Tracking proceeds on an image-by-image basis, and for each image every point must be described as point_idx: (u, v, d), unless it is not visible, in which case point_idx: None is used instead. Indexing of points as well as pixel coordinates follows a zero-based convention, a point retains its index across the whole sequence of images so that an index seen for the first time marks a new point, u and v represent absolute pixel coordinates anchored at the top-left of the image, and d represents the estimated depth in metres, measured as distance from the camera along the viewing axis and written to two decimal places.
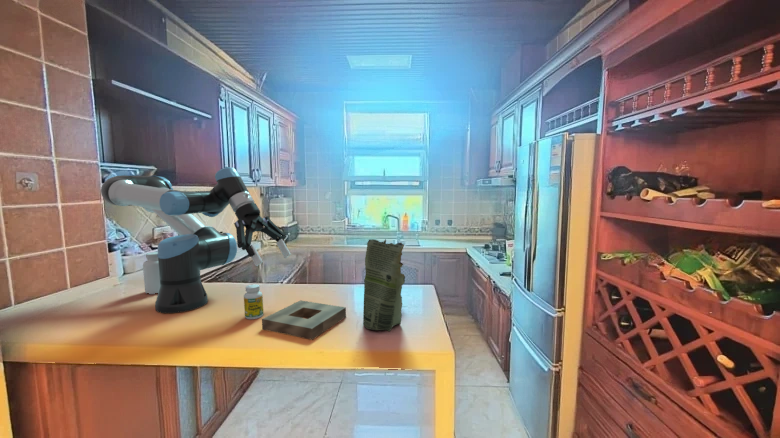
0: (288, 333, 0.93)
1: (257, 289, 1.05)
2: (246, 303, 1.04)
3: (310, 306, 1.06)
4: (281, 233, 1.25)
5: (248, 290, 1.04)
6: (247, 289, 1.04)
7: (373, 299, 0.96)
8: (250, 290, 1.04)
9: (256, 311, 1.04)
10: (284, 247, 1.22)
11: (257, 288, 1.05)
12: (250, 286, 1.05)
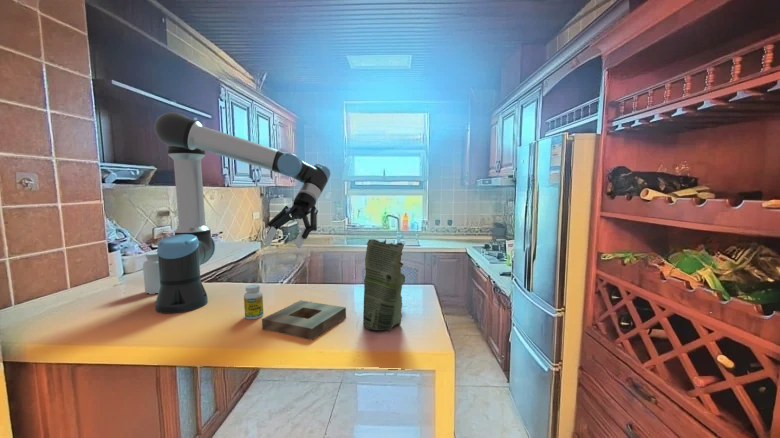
0: (288, 333, 0.93)
1: (257, 289, 1.05)
2: (246, 303, 1.04)
3: (310, 306, 1.06)
4: None
5: (248, 290, 1.04)
6: (247, 289, 1.04)
7: (373, 299, 0.96)
8: (250, 290, 1.04)
9: (256, 311, 1.04)
10: (272, 237, 1.22)
11: (257, 288, 1.05)
12: (250, 286, 1.05)
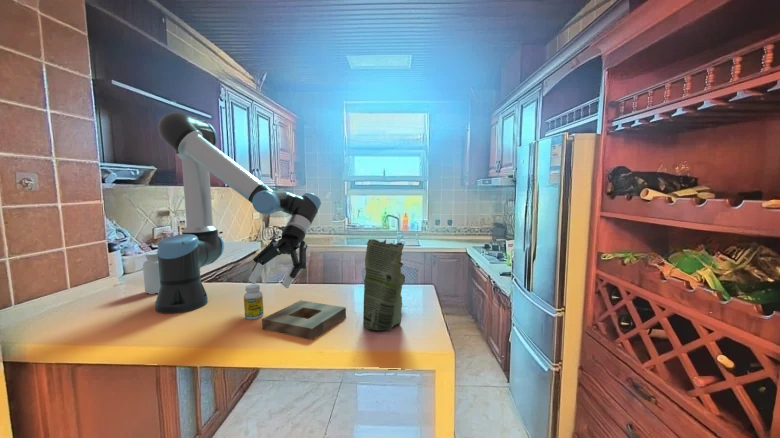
0: (288, 333, 0.93)
1: (257, 289, 1.05)
2: (246, 303, 1.04)
3: (310, 306, 1.06)
4: (262, 260, 1.19)
5: (248, 290, 1.04)
6: (247, 289, 1.04)
7: (373, 299, 0.96)
8: (250, 290, 1.04)
9: (256, 311, 1.04)
10: (258, 274, 1.15)
11: (257, 288, 1.05)
12: (250, 286, 1.05)
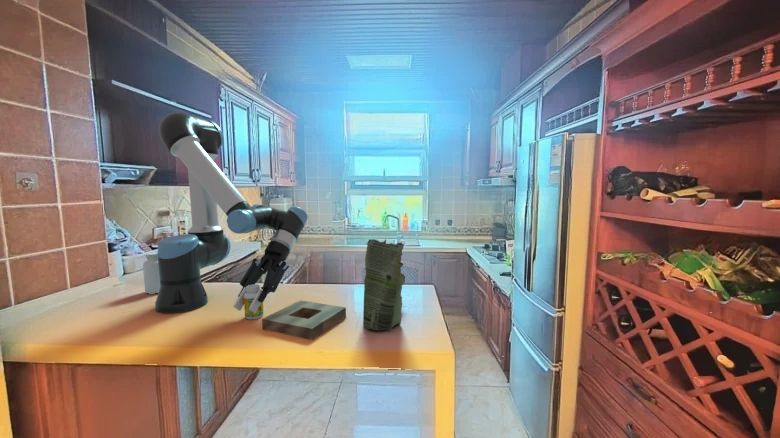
0: (288, 333, 0.93)
1: (257, 289, 1.05)
2: (246, 303, 1.04)
3: (310, 306, 1.06)
4: None
5: (248, 290, 1.04)
6: (247, 289, 1.04)
7: (373, 299, 0.96)
8: (250, 290, 1.04)
9: None
10: None
11: (257, 288, 1.05)
12: (250, 286, 1.05)
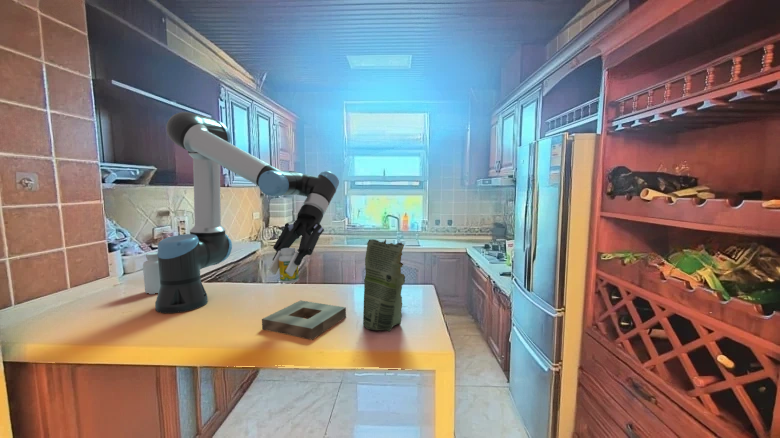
0: (288, 333, 0.93)
1: (293, 252, 1.00)
2: (282, 266, 0.99)
3: (310, 306, 1.06)
4: None
5: (284, 252, 0.99)
6: (283, 251, 0.99)
7: (373, 299, 0.96)
8: (286, 252, 0.99)
9: None
10: None
11: (293, 251, 1.00)
12: (285, 249, 1.01)
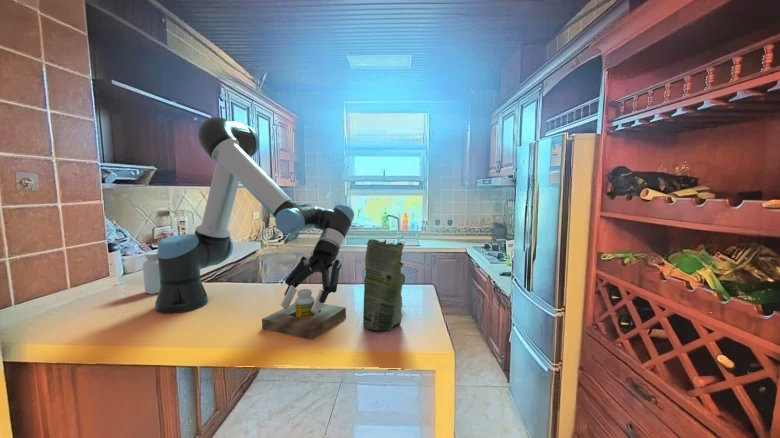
0: (288, 333, 0.93)
1: (310, 294, 1.00)
2: (298, 309, 0.99)
3: None
4: None
5: (301, 295, 0.99)
6: (299, 294, 0.99)
7: (373, 299, 0.96)
8: (303, 295, 0.99)
9: (308, 318, 0.99)
10: (291, 298, 1.03)
11: (310, 293, 1.00)
12: (302, 291, 1.00)
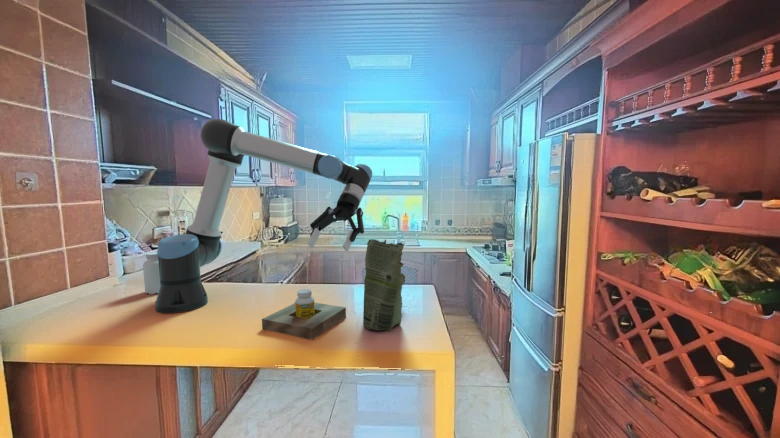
0: (288, 333, 0.93)
1: (309, 294, 1.00)
2: (298, 309, 0.99)
3: None
4: None
5: (301, 295, 0.99)
6: (299, 294, 0.99)
7: (373, 299, 0.96)
8: (302, 295, 0.99)
9: (308, 318, 0.99)
10: (316, 239, 1.17)
11: (309, 293, 1.00)
12: (302, 291, 1.00)
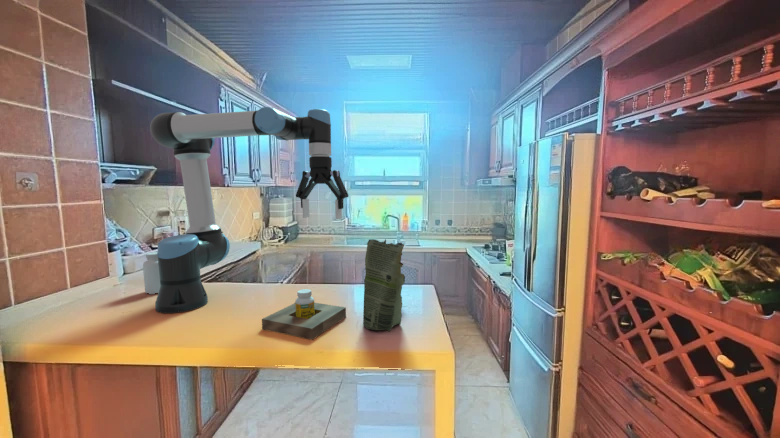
0: (288, 333, 0.93)
1: (309, 294, 1.00)
2: (298, 309, 0.99)
3: None
4: None
5: (301, 295, 0.99)
6: (299, 294, 0.99)
7: (373, 299, 0.96)
8: (302, 295, 0.99)
9: (308, 318, 0.99)
10: (308, 208, 1.24)
11: (309, 293, 1.00)
12: (302, 291, 1.00)
